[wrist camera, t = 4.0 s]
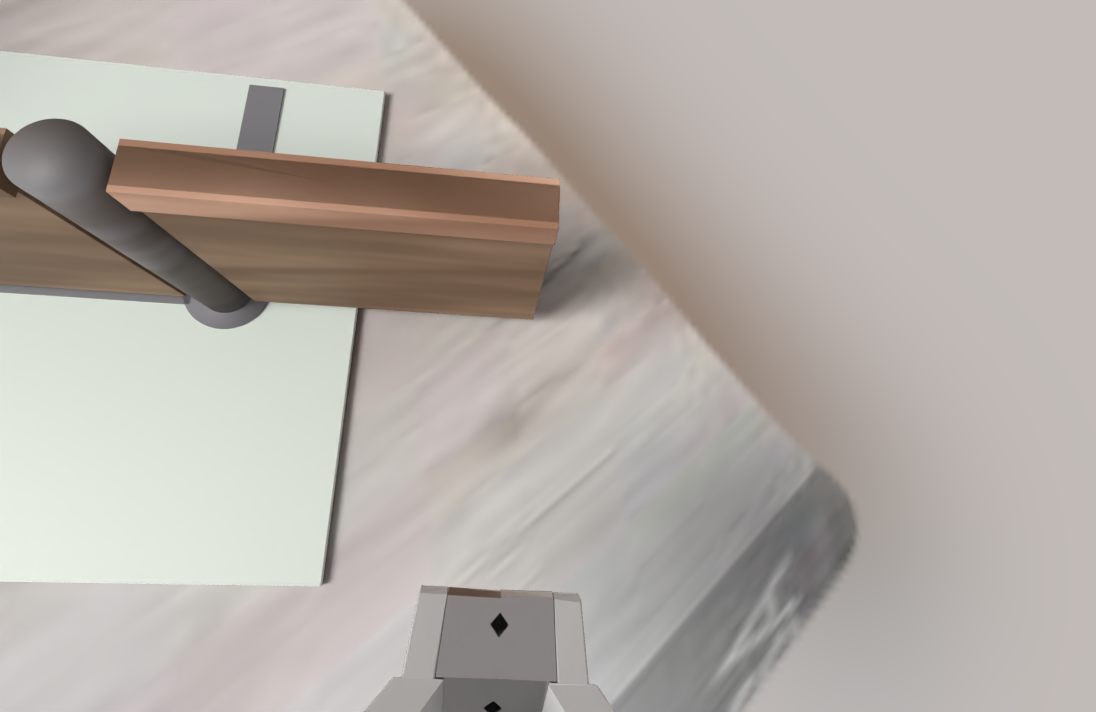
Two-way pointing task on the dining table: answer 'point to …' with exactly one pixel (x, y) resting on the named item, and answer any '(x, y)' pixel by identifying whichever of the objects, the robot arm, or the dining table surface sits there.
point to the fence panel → (349, 227)
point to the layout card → (173, 364)
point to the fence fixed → (88, 224)
